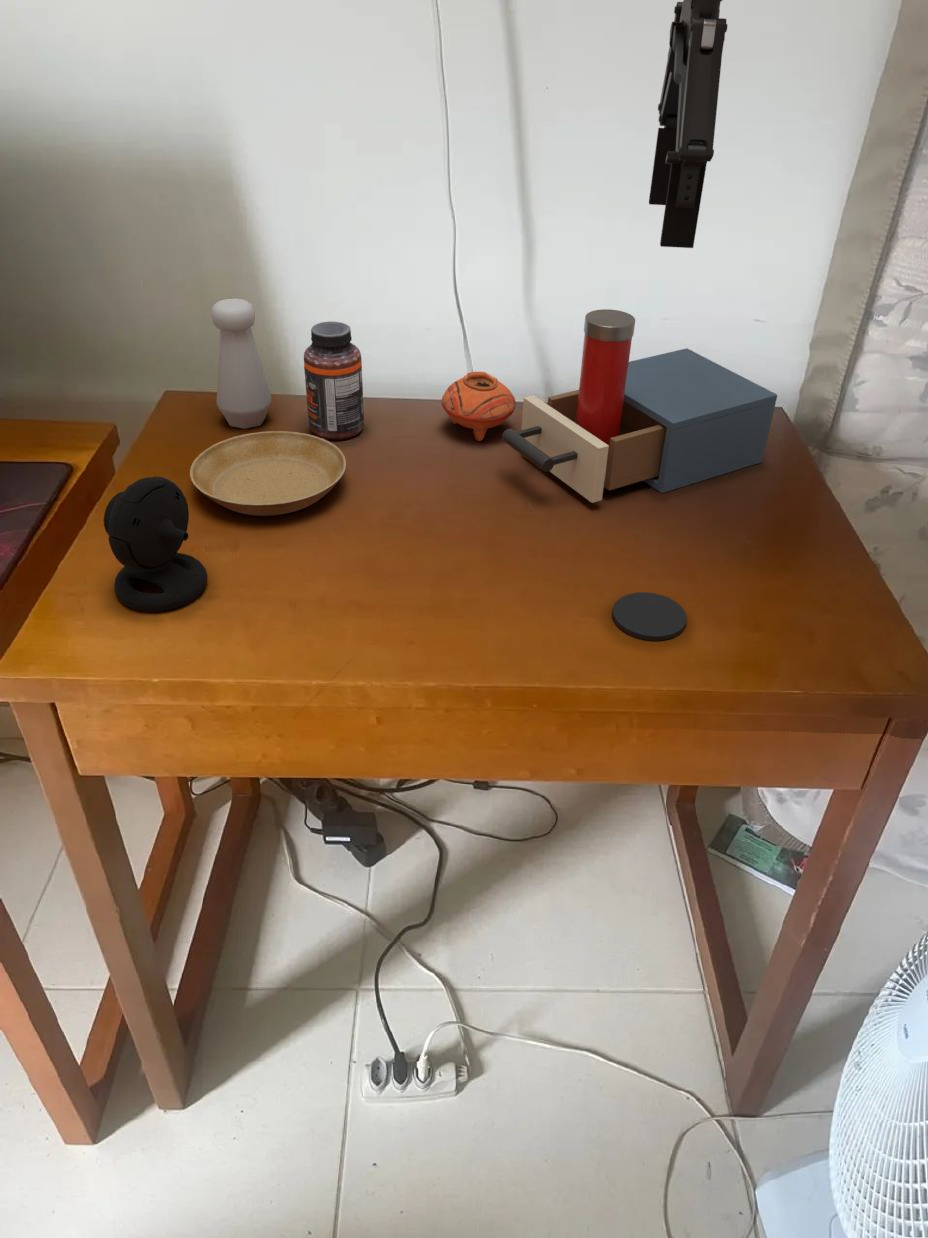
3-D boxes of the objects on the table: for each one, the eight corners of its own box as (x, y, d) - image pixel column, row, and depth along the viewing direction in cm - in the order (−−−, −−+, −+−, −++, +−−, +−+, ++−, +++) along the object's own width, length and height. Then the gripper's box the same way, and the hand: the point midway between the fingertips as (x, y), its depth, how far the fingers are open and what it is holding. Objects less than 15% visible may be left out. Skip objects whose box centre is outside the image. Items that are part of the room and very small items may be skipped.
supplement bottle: (301, 422, 107) (293, 321, 100) (353, 413, 109) (348, 313, 102) (319, 446, 103) (311, 341, 96) (372, 436, 105) (368, 333, 98)
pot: (483, 403, 111) (495, 352, 106) (520, 445, 107) (535, 394, 103) (423, 416, 108) (432, 364, 103) (458, 460, 104) (470, 408, 99)
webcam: (159, 552, 86) (139, 450, 80) (227, 576, 84) (211, 472, 78) (94, 598, 81) (67, 491, 75) (165, 625, 78) (143, 517, 72)
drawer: (555, 514, 91) (561, 458, 88) (485, 458, 100) (487, 405, 96) (692, 472, 98) (701, 419, 95) (615, 424, 107) (622, 373, 103)
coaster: (692, 606, 82) (693, 601, 82) (678, 648, 77) (678, 643, 77) (621, 590, 84) (622, 585, 83) (604, 630, 79) (604, 625, 79)
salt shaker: (279, 411, 109) (268, 294, 102) (264, 434, 105) (251, 314, 97) (228, 406, 110) (213, 290, 102) (211, 429, 105) (194, 310, 97)
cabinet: (661, 493, 97) (673, 423, 92) (579, 437, 106) (586, 371, 101) (762, 462, 103) (777, 394, 98) (676, 412, 112) (687, 347, 107)
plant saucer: (171, 522, 90) (166, 497, 89) (221, 448, 102) (217, 425, 100) (328, 535, 89) (326, 510, 88) (360, 459, 101) (359, 435, 99)
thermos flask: (622, 448, 100) (640, 313, 91) (610, 468, 96) (628, 330, 88) (578, 440, 101) (592, 306, 93) (565, 459, 98) (579, 322, 89)
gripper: (650, -72, 86) (620, 187, 98) (676, -59, 66) (635, 264, 78) (737, -69, 85) (696, 190, 98) (790, -55, 65) (730, 269, 78)
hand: (669, 224), depth 88 cm, fingers open, 13 cm apart
